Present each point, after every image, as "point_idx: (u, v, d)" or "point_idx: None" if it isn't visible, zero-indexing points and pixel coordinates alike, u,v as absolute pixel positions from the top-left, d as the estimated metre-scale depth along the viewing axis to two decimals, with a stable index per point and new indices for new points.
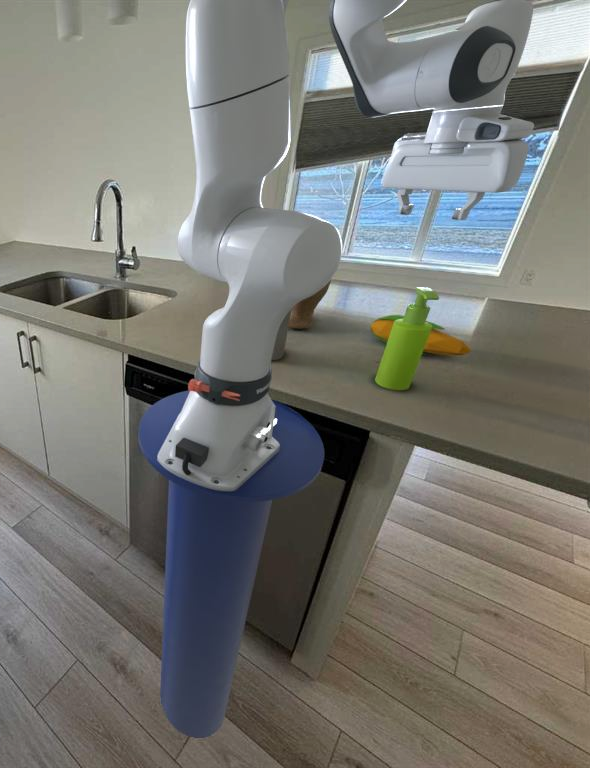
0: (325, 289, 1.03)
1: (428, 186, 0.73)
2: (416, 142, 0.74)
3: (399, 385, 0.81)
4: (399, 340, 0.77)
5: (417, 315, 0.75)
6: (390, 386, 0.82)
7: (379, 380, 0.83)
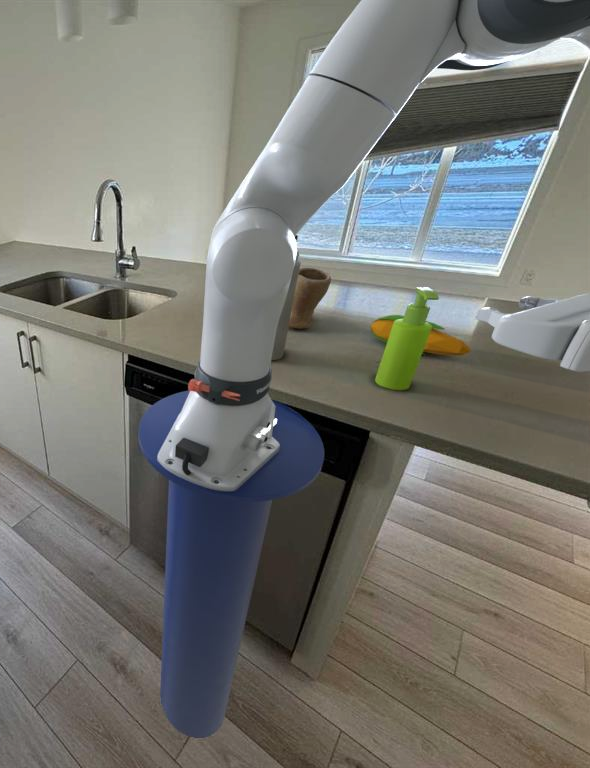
0: (325, 289, 1.03)
1: (553, 303, 0.58)
2: None
3: (399, 385, 0.81)
4: (399, 339, 0.77)
5: (417, 315, 0.75)
6: (390, 386, 0.82)
7: (379, 380, 0.83)
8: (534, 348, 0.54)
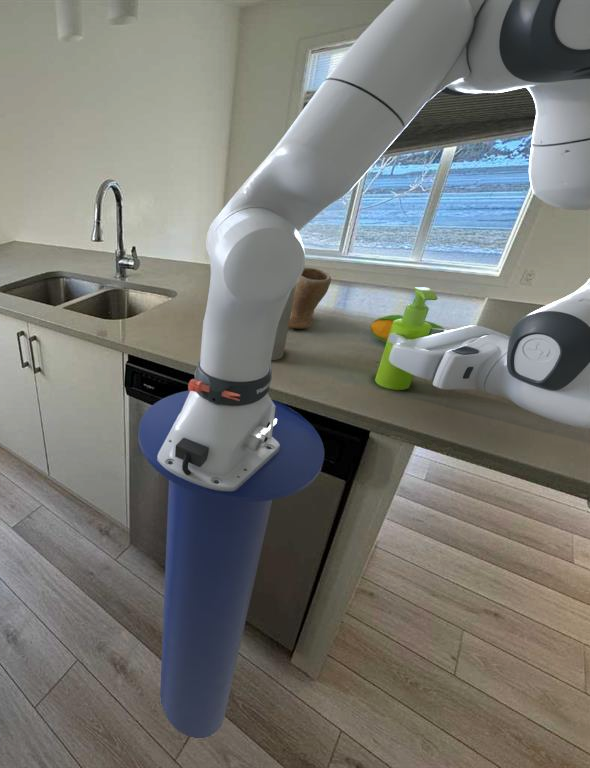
0: (325, 289, 1.03)
1: (440, 333, 0.73)
2: None
3: (399, 385, 0.81)
4: None
5: (416, 315, 0.75)
6: (390, 386, 0.82)
7: (379, 380, 0.83)
8: (415, 370, 0.69)
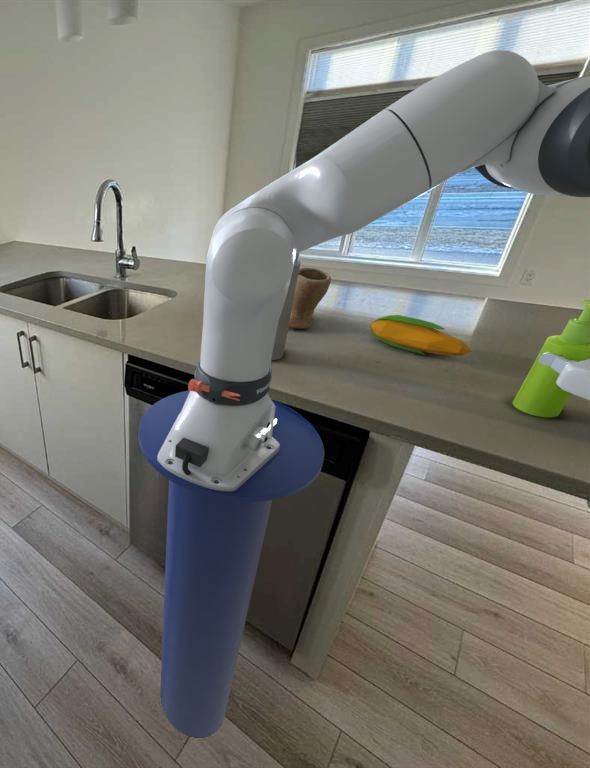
0: (325, 289, 1.03)
1: None
2: None
3: (549, 412, 0.70)
4: None
5: (584, 333, 0.64)
6: (537, 413, 0.71)
7: (521, 405, 0.72)
8: None
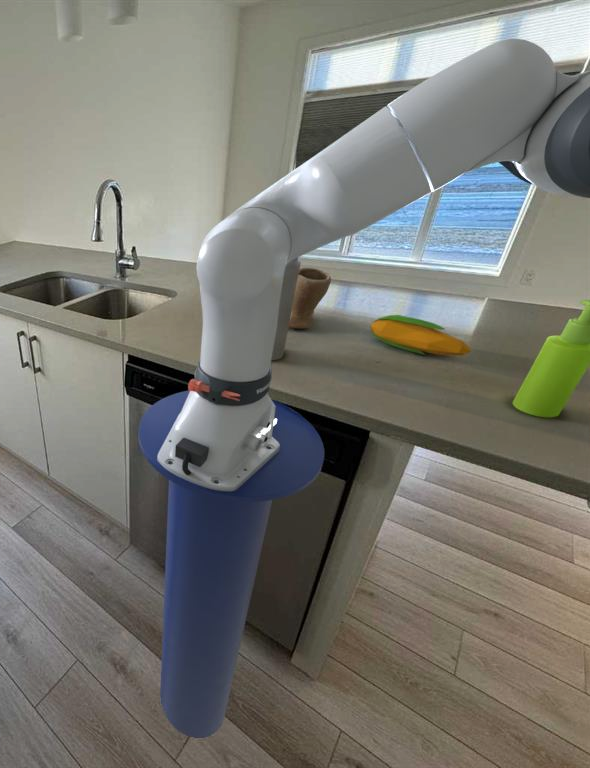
0: (325, 289, 1.03)
1: None
2: None
3: (549, 412, 0.70)
4: (557, 360, 0.67)
5: (584, 333, 0.64)
6: (537, 413, 0.71)
7: (521, 405, 0.72)
8: None
